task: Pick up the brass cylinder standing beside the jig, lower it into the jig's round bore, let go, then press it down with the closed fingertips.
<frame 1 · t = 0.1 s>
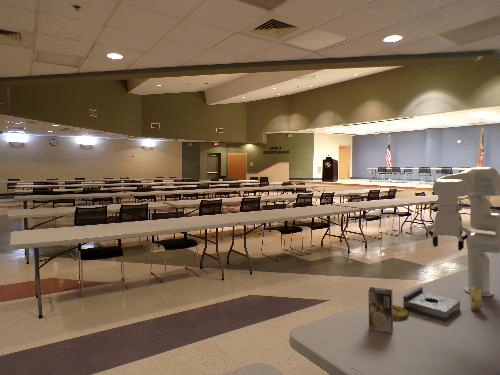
hand: (447, 248, 144), 31 cm above the table, tool pointing down, fingers open, 9 cm apart
coffee box: (381, 328, 138), on the table
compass: (393, 315, 151), on the table
jig: (431, 309, 154), on the table
brass cylinder: (475, 310, 153), on the table
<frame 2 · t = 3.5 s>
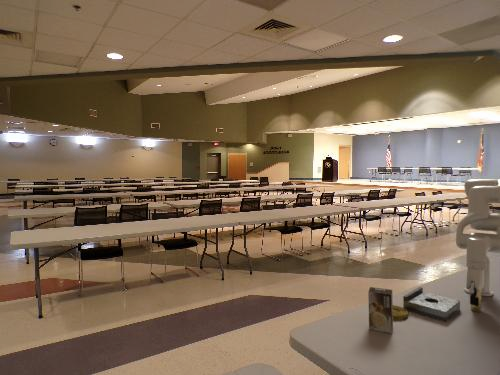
hand: (475, 303, 153), 3 cm above the table, tool pointing down, fingers closed on brass cylinder, 4 cm apart
brass cylinder: (475, 310, 153), on the table, touching gripper
everything else where it was.
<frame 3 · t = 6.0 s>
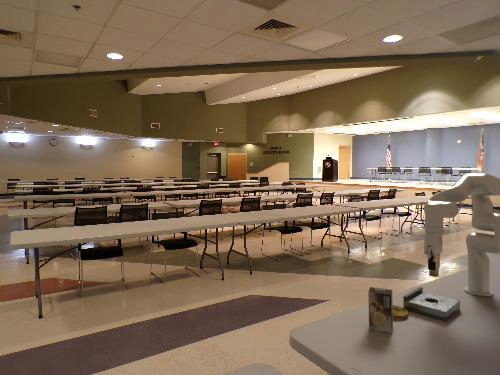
hand: (433, 268, 153), 20 cm above the table, tool pointing down, fingers closed on brass cylinder, 4 cm apart
brass cylinder: (433, 275, 153), point 16 cm above the table, touching gripper
everything else where it was.
when the fingers open (6 cm above the table, at t = 8.5 s): brass cylinder stays where it is, resting on jig.
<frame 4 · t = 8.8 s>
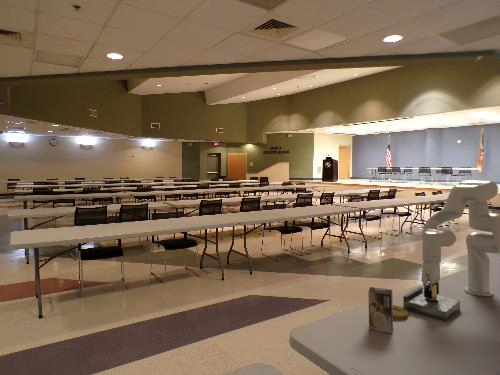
hand: (431, 295, 154), 7 cm above the table, tool pointing down, fingers open, 7 cm apart
brass cylinder: (431, 305, 154), point 2 cm above the table, touching jig
everything else where it was.
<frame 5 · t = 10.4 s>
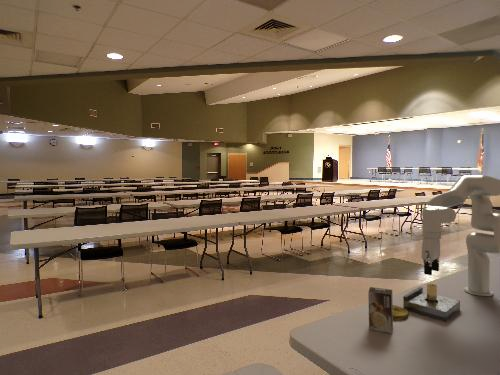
hand: (431, 272, 154), 18 cm above the table, tool pointing down, fingers open, 7 cm apart
nothing on the table moved.
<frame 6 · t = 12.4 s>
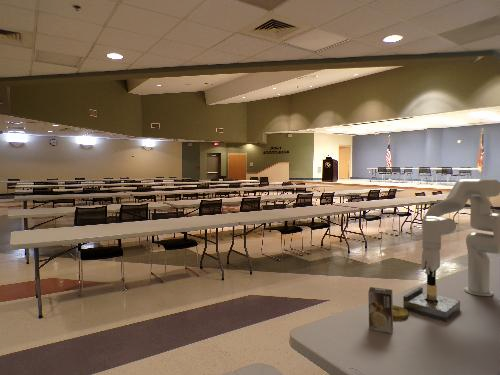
hand: (431, 284, 154), 12 cm above the table, tool pointing down, fingers closed
brass cylinder: (431, 305, 154), point 2 cm above the table, touching gripper, jig
everything else where it was.
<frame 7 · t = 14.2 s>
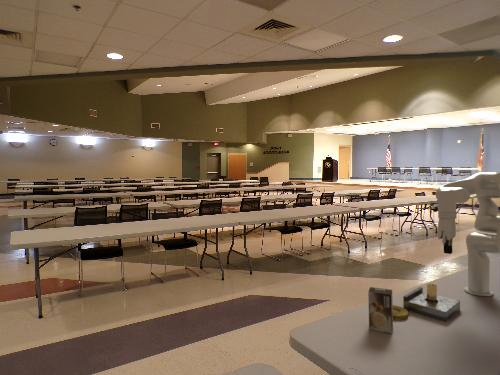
hand: (448, 253, 158), 25 cm above the table, tool pointing down, fingers closed
brass cylinder: (431, 305, 154), point 2 cm above the table, touching jig
everything else where it was.
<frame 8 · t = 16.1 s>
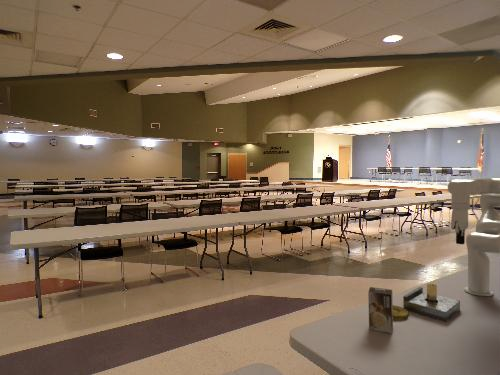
hand: (460, 243, 161), 29 cm above the table, tool pointing down, fingers closed
nothing on the table moved.
at the end: brass cylinder 0.1 cm off-centre on the jig, point 2.0 cm above the jig's base; brass cylinder tilted 0°; the gripper is holding nothing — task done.
